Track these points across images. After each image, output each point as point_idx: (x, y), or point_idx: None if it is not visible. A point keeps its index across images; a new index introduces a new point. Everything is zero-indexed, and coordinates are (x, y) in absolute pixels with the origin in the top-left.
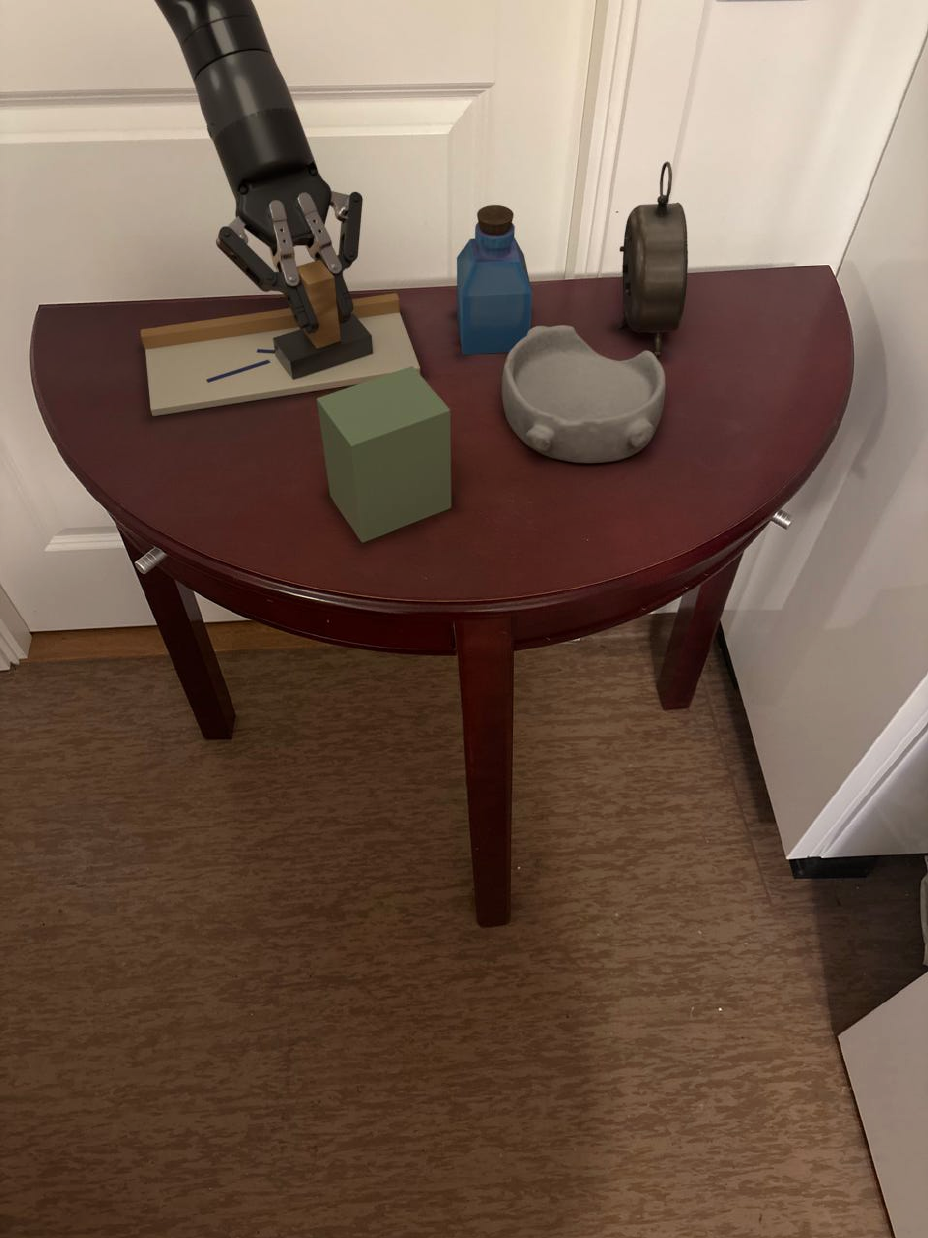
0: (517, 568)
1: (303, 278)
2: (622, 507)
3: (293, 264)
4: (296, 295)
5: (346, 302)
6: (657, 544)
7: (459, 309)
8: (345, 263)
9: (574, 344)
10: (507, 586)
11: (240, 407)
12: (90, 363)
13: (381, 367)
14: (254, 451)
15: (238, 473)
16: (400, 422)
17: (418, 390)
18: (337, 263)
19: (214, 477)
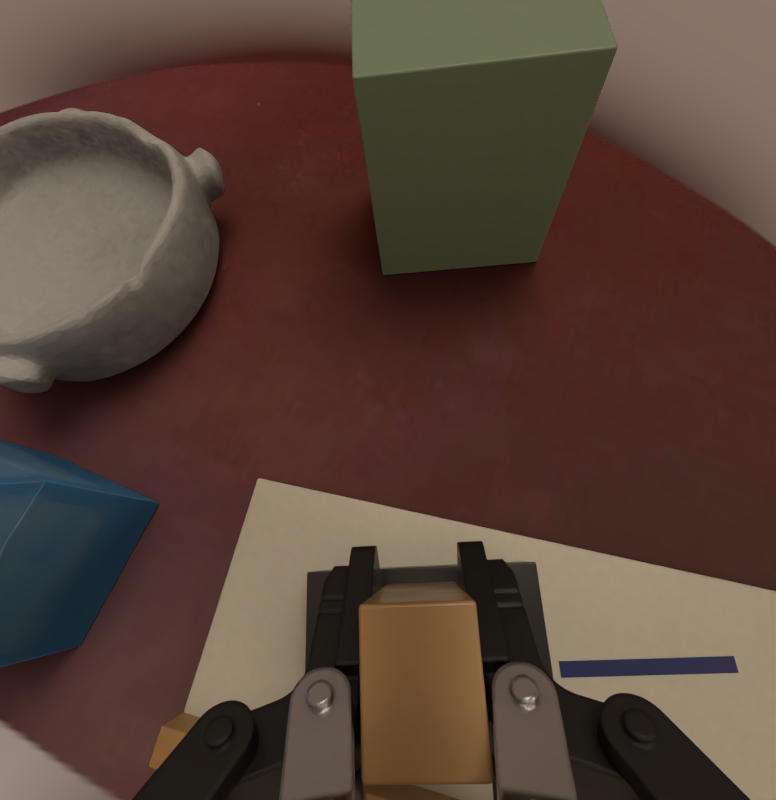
0: (354, 94)
1: (481, 658)
2: (189, 129)
3: (509, 760)
4: (510, 646)
5: (343, 588)
6: (196, 79)
7: (71, 579)
8: (267, 716)
9: None
10: None
11: (650, 550)
12: None
13: (326, 514)
14: (641, 407)
15: (680, 365)
16: None
17: (381, 15)
18: (304, 706)
19: (727, 372)
